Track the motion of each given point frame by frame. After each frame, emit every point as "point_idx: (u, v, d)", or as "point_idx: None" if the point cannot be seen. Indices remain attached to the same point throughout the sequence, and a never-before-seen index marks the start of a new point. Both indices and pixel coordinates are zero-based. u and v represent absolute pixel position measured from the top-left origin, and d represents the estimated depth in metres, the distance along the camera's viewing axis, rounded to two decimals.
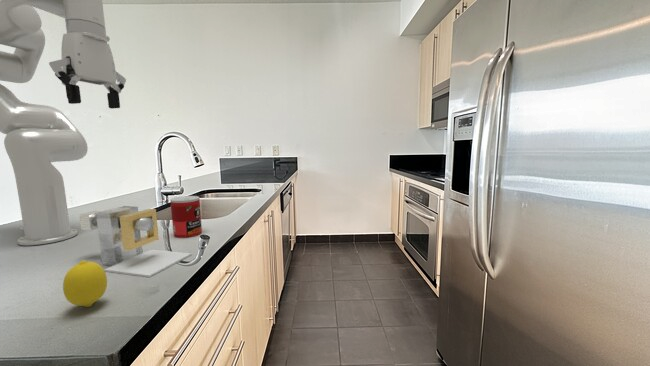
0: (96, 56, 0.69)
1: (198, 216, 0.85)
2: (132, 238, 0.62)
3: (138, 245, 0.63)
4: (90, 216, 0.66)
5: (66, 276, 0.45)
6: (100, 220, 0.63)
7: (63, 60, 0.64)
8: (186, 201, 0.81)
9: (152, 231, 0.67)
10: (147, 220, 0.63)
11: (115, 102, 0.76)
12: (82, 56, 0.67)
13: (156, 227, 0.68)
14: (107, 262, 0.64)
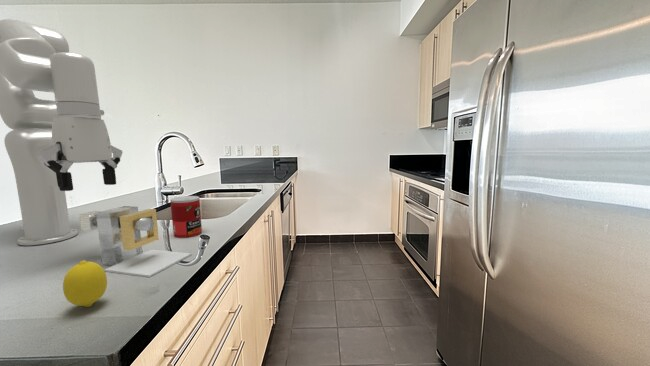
0: (89, 137, 0.64)
1: (198, 216, 0.85)
2: (132, 238, 0.62)
3: (138, 245, 0.63)
4: (90, 216, 0.66)
5: (66, 276, 0.45)
6: (100, 220, 0.63)
7: (53, 148, 0.59)
8: (186, 201, 0.81)
9: (152, 231, 0.67)
10: (147, 220, 0.63)
11: (111, 179, 0.71)
12: (74, 140, 0.62)
13: (156, 227, 0.68)
14: (107, 262, 0.64)
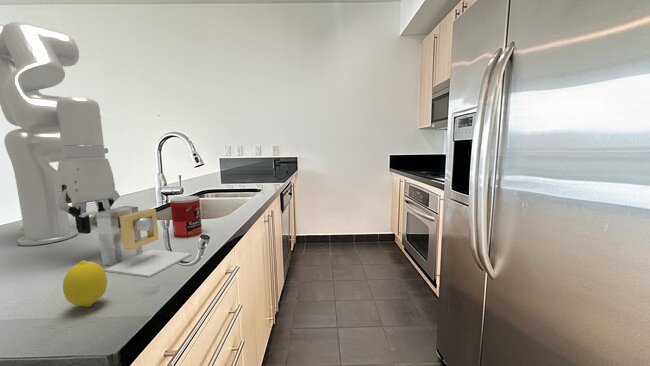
0: (93, 177, 0.66)
1: (198, 216, 0.85)
2: (132, 238, 0.62)
3: (138, 245, 0.63)
4: (90, 216, 0.66)
5: (66, 276, 0.45)
6: (100, 220, 0.63)
7: (65, 197, 0.62)
8: (186, 201, 0.81)
9: (152, 231, 0.67)
10: (147, 220, 0.63)
11: None
12: (79, 182, 0.63)
13: (156, 227, 0.68)
14: (107, 262, 0.64)
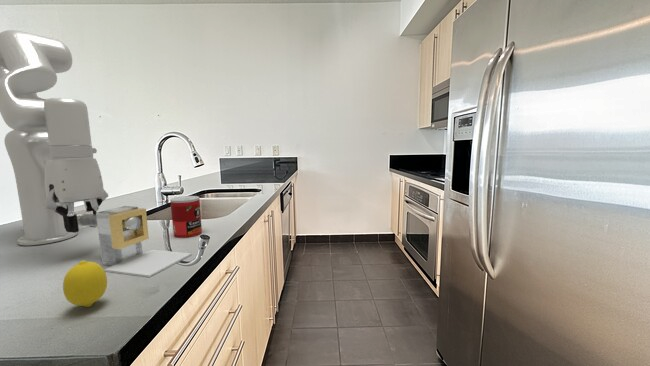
0: (81, 177, 0.67)
1: (198, 216, 0.85)
2: (121, 237, 0.62)
3: (127, 244, 0.64)
4: (78, 215, 0.67)
5: (66, 276, 0.45)
6: (100, 220, 0.63)
7: (52, 196, 0.63)
8: (186, 201, 0.81)
9: (142, 230, 0.68)
10: (133, 219, 0.64)
11: None
12: (66, 182, 0.64)
13: (146, 226, 0.68)
14: (107, 262, 0.64)
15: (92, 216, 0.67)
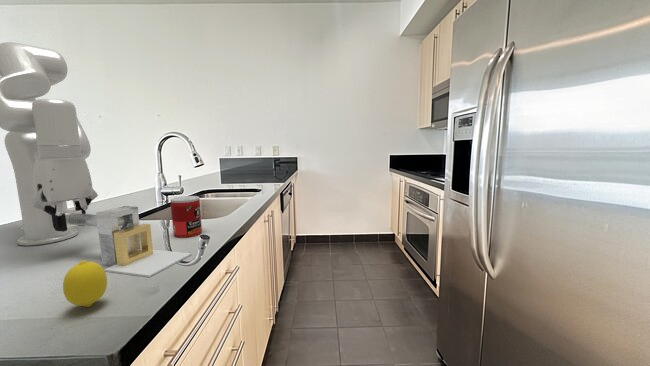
0: (70, 177, 0.68)
1: (198, 216, 0.85)
2: (126, 254, 0.63)
3: (132, 260, 0.64)
4: (66, 214, 0.68)
5: (66, 276, 0.45)
6: (100, 220, 0.63)
7: (40, 196, 0.64)
8: (186, 201, 0.81)
9: (146, 246, 0.68)
10: (121, 218, 0.65)
11: None
12: (54, 181, 0.65)
13: (151, 242, 0.69)
14: (107, 262, 0.64)
15: (80, 215, 0.68)
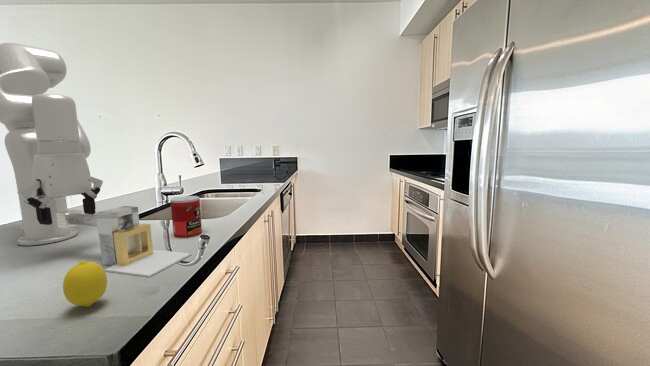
0: (69, 172, 0.68)
1: (198, 216, 0.85)
2: (126, 254, 0.63)
3: (132, 260, 0.64)
4: (66, 214, 0.68)
5: (66, 276, 0.45)
6: (100, 220, 0.63)
7: (33, 186, 0.63)
8: (186, 201, 0.81)
9: (146, 246, 0.68)
10: (121, 218, 0.65)
11: (90, 209, 0.74)
12: (54, 177, 0.65)
13: (151, 242, 0.69)
14: (107, 262, 0.64)
15: (80, 215, 0.68)
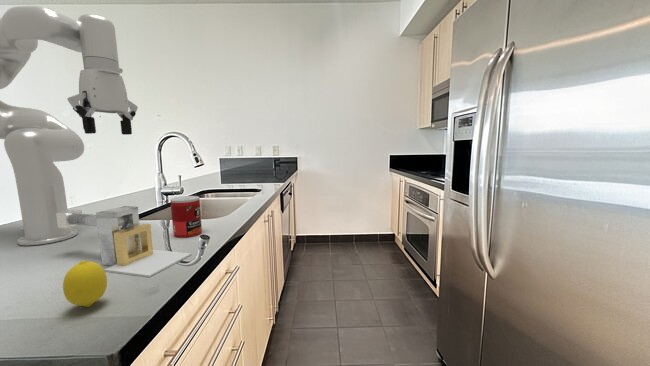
0: (109, 89, 0.75)
1: (198, 216, 0.85)
2: (126, 254, 0.63)
3: (132, 260, 0.64)
4: (66, 214, 0.68)
5: (66, 276, 0.45)
6: (100, 220, 0.63)
7: (80, 95, 0.70)
8: (186, 201, 0.81)
9: (146, 246, 0.68)
10: (121, 218, 0.65)
11: (127, 129, 0.81)
12: (97, 90, 0.72)
13: (151, 242, 0.69)
14: (107, 262, 0.64)
15: (80, 215, 0.68)
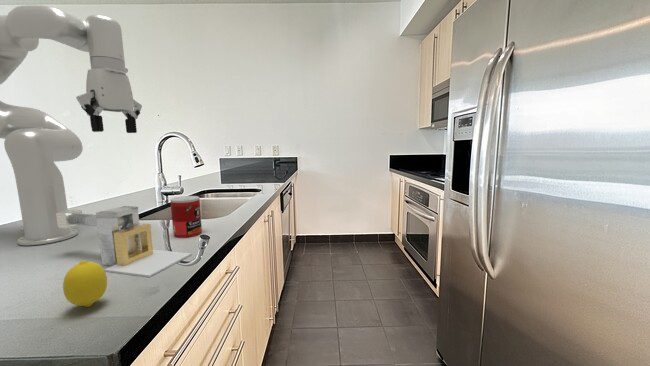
0: (116, 88, 0.77)
1: (198, 216, 0.85)
2: (126, 254, 0.63)
3: (132, 260, 0.64)
4: (66, 214, 0.68)
5: (66, 276, 0.45)
6: (100, 220, 0.63)
7: (88, 94, 0.72)
8: (186, 201, 0.81)
9: (146, 246, 0.68)
10: (121, 218, 0.65)
11: (132, 127, 0.83)
12: (105, 89, 0.74)
13: (151, 242, 0.69)
14: (107, 262, 0.64)
15: (80, 215, 0.68)
